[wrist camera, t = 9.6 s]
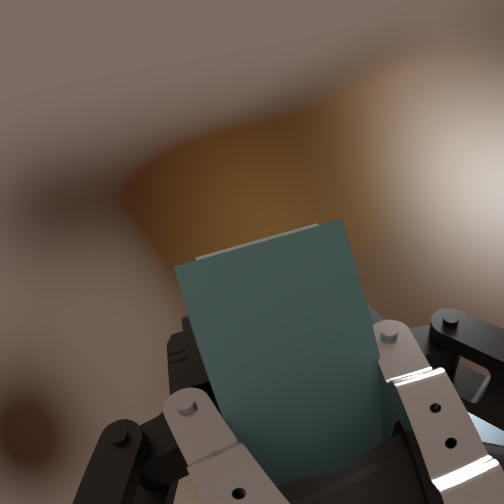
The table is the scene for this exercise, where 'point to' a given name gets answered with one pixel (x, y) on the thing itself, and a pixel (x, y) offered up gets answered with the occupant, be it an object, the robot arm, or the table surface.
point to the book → (289, 349)
